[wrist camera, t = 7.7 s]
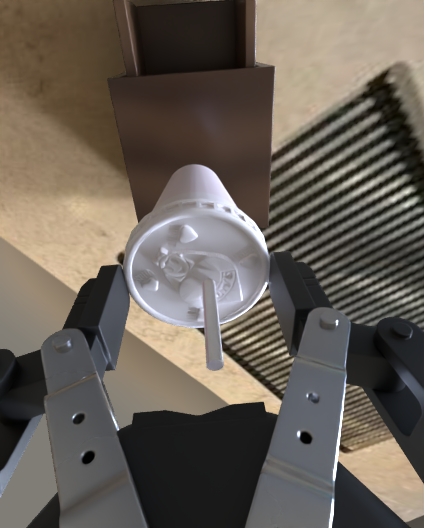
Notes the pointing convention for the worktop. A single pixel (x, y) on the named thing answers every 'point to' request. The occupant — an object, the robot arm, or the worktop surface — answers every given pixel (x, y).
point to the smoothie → (196, 258)
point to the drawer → (187, 36)
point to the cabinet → (198, 132)
